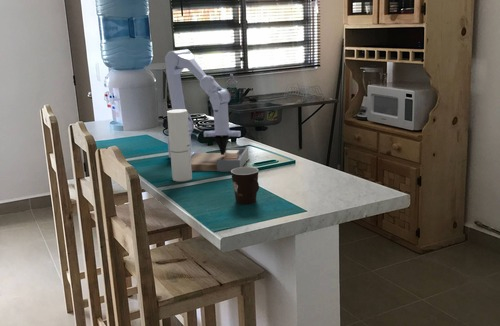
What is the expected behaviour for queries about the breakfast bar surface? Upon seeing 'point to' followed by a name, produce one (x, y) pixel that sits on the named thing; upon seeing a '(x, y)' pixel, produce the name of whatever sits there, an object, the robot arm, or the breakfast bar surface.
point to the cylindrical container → (179, 144)
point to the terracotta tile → (231, 157)
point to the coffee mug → (245, 184)
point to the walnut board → (205, 161)
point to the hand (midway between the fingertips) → (223, 154)
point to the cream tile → (231, 152)
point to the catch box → (233, 161)
